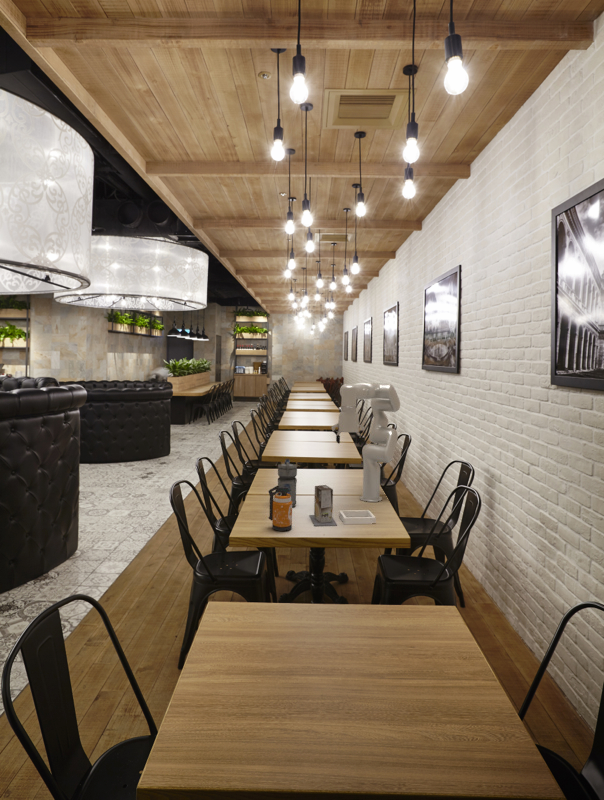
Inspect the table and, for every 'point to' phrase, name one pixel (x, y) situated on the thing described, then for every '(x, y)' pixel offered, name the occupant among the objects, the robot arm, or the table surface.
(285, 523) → the canister
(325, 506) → the coffee box
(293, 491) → the beverage bottle
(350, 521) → the holder
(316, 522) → the mat
